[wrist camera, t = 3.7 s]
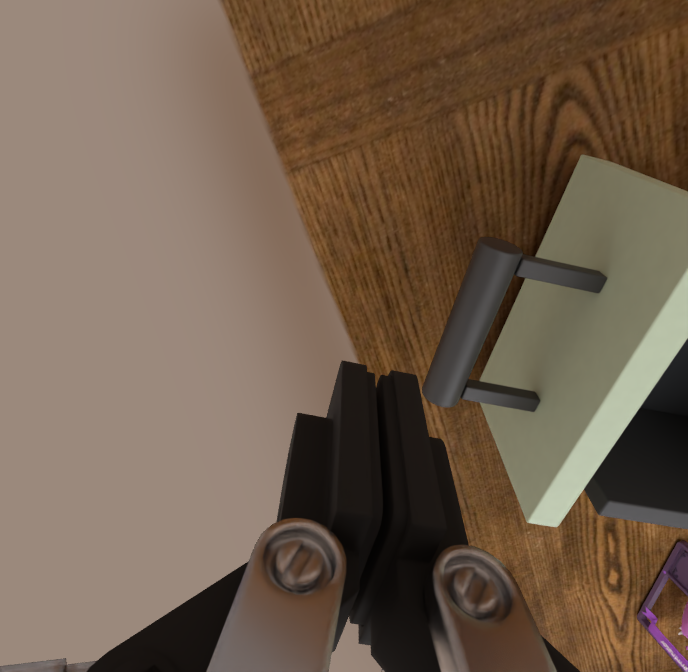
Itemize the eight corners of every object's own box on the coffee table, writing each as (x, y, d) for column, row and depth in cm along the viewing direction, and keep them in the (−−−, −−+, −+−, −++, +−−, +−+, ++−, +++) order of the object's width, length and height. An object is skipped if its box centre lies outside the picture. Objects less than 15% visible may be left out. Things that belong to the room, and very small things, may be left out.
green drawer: (391, 374, 23) (410, 505, 16) (473, 127, 17) (555, 170, 11) (732, 437, 25) (874, 576, 18) (904, 234, 19) (1202, 327, 13)
